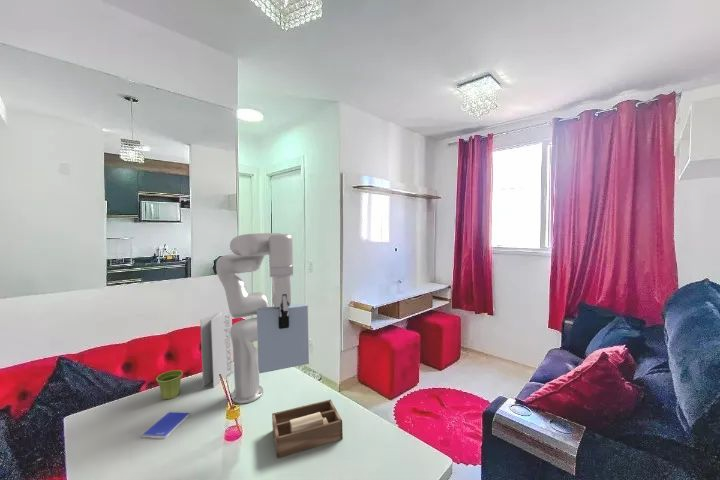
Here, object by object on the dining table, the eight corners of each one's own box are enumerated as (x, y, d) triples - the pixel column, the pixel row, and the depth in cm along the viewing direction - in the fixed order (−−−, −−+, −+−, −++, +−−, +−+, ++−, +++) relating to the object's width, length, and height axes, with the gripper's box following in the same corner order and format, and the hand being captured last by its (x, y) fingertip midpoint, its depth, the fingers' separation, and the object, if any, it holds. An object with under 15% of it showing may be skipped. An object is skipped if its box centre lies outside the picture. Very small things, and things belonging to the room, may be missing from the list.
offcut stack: (285, 443, 96) (284, 421, 96) (327, 431, 102) (326, 409, 101) (288, 453, 92) (287, 429, 92) (331, 439, 98) (330, 417, 97)
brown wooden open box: (272, 430, 102) (272, 413, 102) (331, 415, 110) (330, 399, 110) (277, 458, 90) (276, 438, 89) (342, 438, 97) (342, 421, 97)
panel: (258, 368, 99) (256, 308, 98) (306, 359, 105) (305, 302, 104) (259, 373, 95) (257, 311, 94) (308, 363, 101) (307, 305, 100)
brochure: (213, 387, 131) (211, 320, 130) (202, 386, 132) (200, 319, 131) (233, 372, 145) (231, 311, 144) (223, 371, 146) (221, 310, 145)
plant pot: (188, 393, 127) (187, 373, 126) (163, 404, 119) (162, 383, 118) (176, 387, 132) (176, 368, 131) (153, 397, 124) (152, 377, 124)
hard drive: (164, 435, 99) (189, 412, 112) (141, 434, 100) (168, 411, 112) (164, 440, 99) (189, 416, 112) (142, 438, 100) (168, 415, 112)
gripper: (267, 268, 105) (268, 320, 105) (272, 275, 89) (274, 336, 90) (288, 267, 107) (289, 317, 108) (297, 274, 92) (299, 332, 93)
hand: (282, 325), depth 99 cm, fingers closed on panel, 4 cm apart
